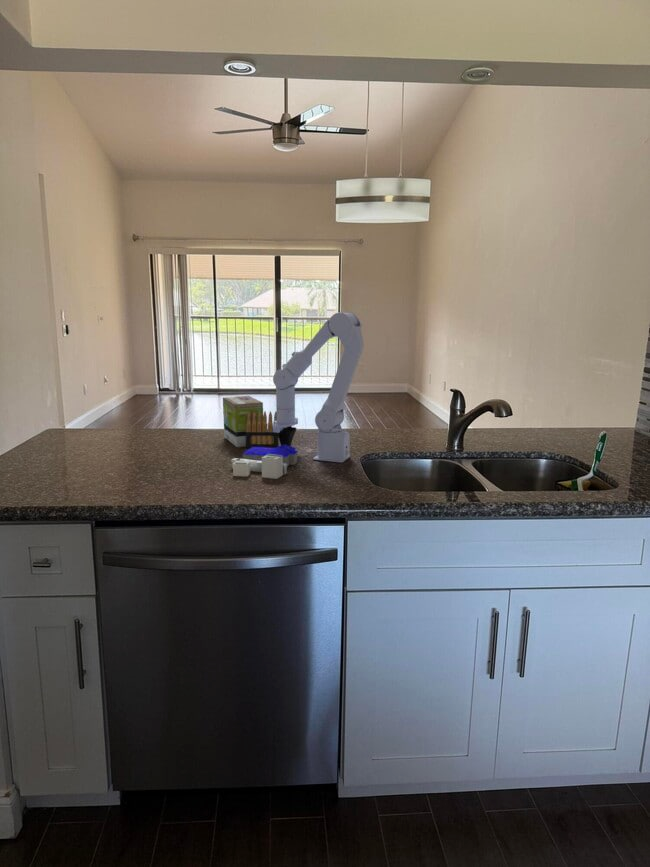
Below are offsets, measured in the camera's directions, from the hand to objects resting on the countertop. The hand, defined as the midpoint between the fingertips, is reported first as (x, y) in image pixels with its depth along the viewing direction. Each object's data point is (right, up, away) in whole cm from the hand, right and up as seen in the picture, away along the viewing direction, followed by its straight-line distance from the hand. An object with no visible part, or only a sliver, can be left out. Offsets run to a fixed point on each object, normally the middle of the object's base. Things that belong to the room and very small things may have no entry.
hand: (286, 450), depth 183 cm
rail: (-6, -5, -19) cm, 20 cm away
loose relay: (-11, -6, -22) cm, 25 cm away
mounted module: (-2, -6, -24) cm, 24 cm away
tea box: (-16, +2, +17) cm, 23 cm away
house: (-3, -4, -9) cm, 10 cm away
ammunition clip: (-8, 0, +7) cm, 11 cm away
